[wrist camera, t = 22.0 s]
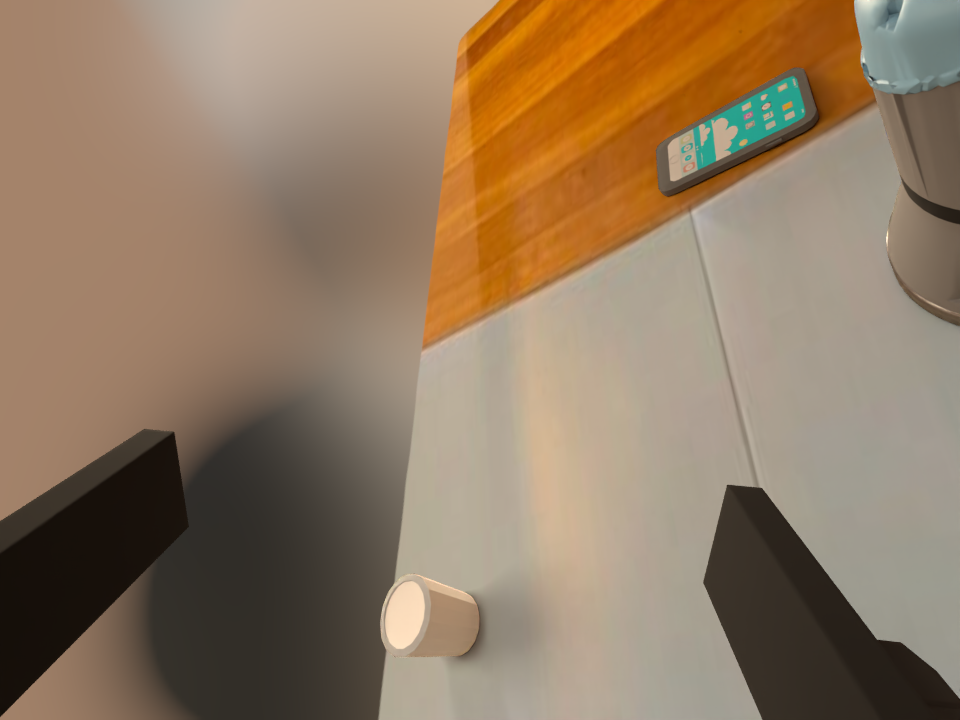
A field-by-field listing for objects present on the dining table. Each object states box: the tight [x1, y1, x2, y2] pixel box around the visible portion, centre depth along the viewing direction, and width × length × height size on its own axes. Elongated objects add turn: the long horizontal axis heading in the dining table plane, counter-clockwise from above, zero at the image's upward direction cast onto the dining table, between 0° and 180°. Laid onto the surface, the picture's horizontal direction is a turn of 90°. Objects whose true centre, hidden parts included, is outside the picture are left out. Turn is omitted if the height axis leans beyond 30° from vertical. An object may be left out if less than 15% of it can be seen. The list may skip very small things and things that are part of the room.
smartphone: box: [656, 68, 819, 196], centre depth 53 cm, size 9×1×15 cm
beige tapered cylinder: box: [380, 573, 480, 657], centre depth 49 cm, size 7×7×7 cm
